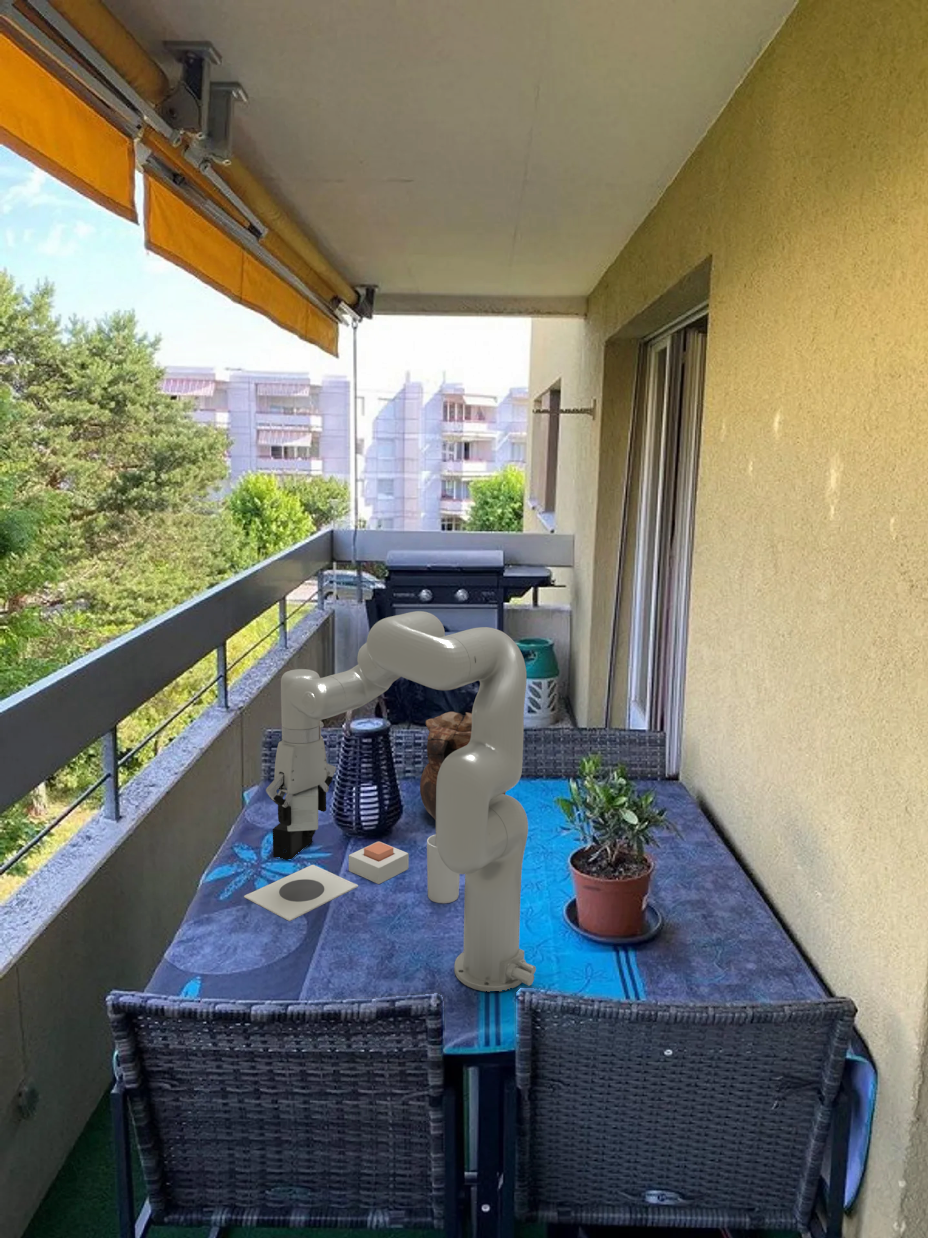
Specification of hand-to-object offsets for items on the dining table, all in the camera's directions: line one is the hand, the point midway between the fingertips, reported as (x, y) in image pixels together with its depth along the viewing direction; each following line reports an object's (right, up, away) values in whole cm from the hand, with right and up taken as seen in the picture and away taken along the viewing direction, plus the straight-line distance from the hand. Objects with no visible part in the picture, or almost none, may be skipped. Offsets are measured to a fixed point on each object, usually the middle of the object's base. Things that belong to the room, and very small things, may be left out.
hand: (302, 816), depth 175 cm
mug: (+28, -17, +4) cm, 33 cm away
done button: (+14, -12, +13) cm, 22 cm away
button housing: (+14, -14, +13) cm, 24 cm away
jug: (+32, -10, +41) cm, 53 cm away
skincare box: (0, -2, 0) cm, 2 cm away
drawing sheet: (-1, -16, +4) cm, 16 cm away
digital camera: (-6, -13, +22) cm, 26 cm away
